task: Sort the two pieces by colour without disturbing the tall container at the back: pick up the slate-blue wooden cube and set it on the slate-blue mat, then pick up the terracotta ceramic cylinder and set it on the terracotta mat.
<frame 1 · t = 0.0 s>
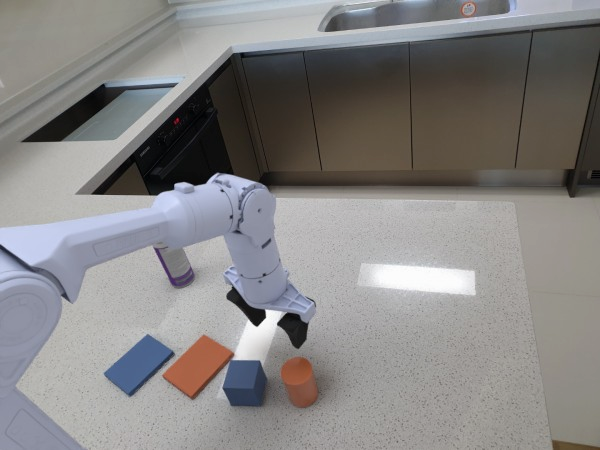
hand: (279, 332, 65), 7 cm above the table, tool pointing down, fingers open, 7 cm apart
terracotta cylinder: (303, 393, 65), on the table
terracotta mat: (199, 366, 72), on the table
container: (183, 280, 89), on the table
blue mat: (140, 364, 74), on the table
blue cube: (249, 391, 67), on the table
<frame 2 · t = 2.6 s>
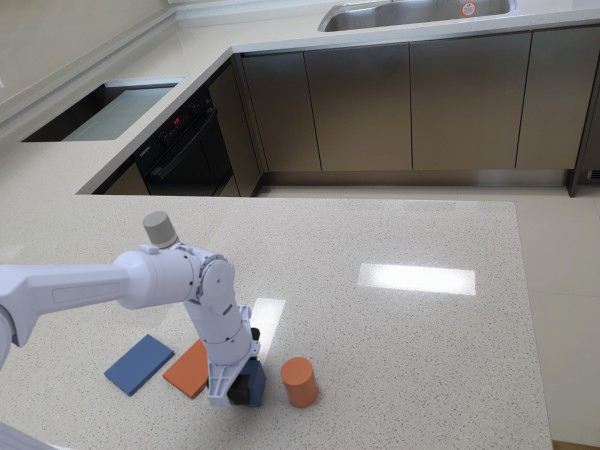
hand: (246, 386, 66), 1 cm above the table, tool pointing down, fingers closed on blue cube, 4 cm apart
blue cube: (249, 391, 67), on the table, touching gripper
everything else where it was.
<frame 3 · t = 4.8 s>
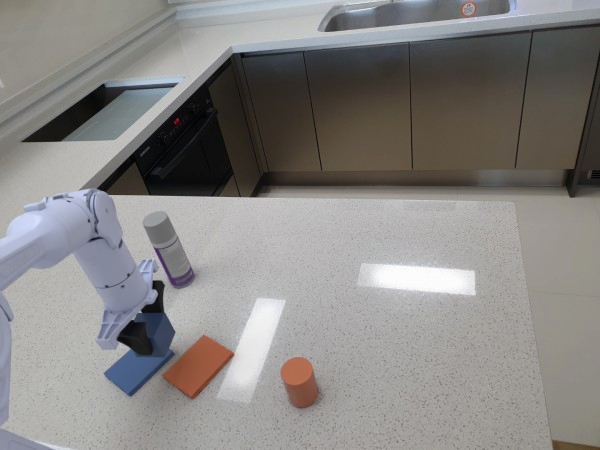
hand: (152, 338, 67), 8 cm above the table, tool pointing down, fingers closed on blue cube, 4 cm apart
blue cube: (156, 344, 68), point 7 cm above the table, touching gripper
everything else where it was.
when the fingers open (2 cm above the table, at t = 7.3 s): blue cube stays where it is, resting on blue mat.
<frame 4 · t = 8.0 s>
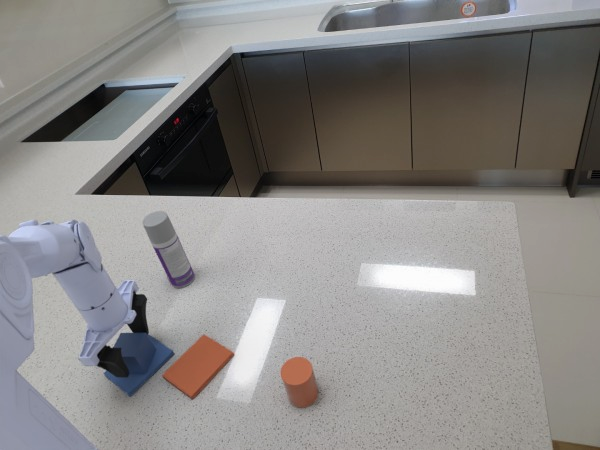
hand: (133, 354, 73), 3 cm above the table, tool pointing down, fingers open, 7 cm apart
blue cube: (138, 361, 74), point 1 cm above the table, touching blue mat
everything else where it was.
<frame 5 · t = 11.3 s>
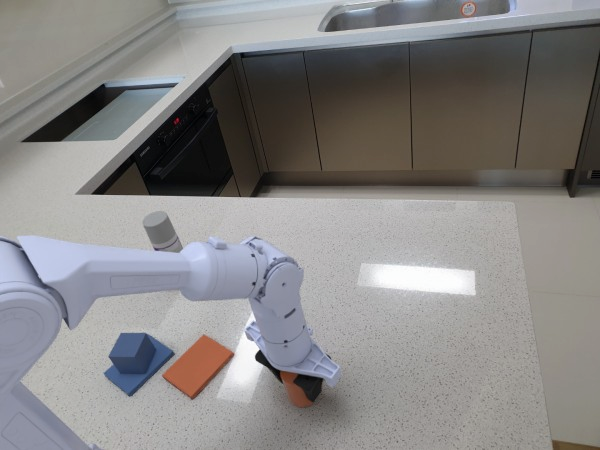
hand: (301, 387, 64), 1 cm above the table, tool pointing down, fingers closed on terracotta cylinder, 4 cm apart
terracotta cylinder: (303, 393, 65), on the table, touching gripper
everything else where it was.
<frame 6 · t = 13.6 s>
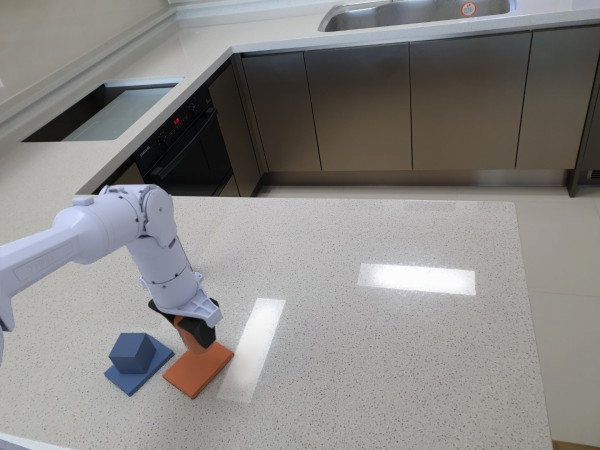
hand: (198, 336, 66), 8 cm above the table, tool pointing down, fingers closed on terracotta cylinder, 4 cm apart
terracotta cylinder: (201, 341, 67), point 7 cm above the table, touching gripper
everything else where it was.
when the fingers open (2 cm above the table, at t = 15.8 s): terracotta cylinder stays where it is, resting on terracotta mat.
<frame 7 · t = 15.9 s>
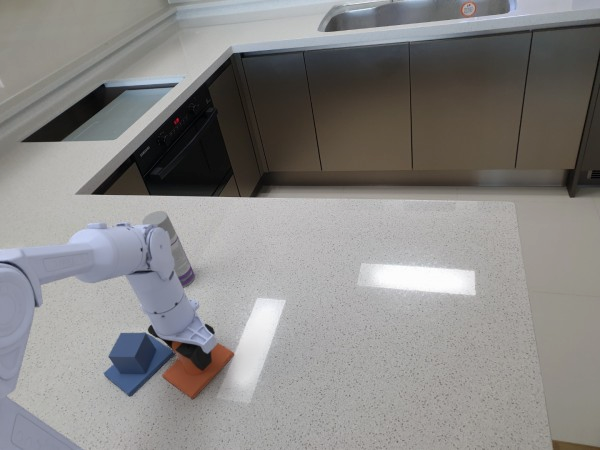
hand: (194, 358, 71), 2 cm above the table, tool pointing down, fingers open, 4 cm apart
terracotta cylinder: (197, 363, 72), point 1 cm above the table, touching terracotta mat
everything else where it was.
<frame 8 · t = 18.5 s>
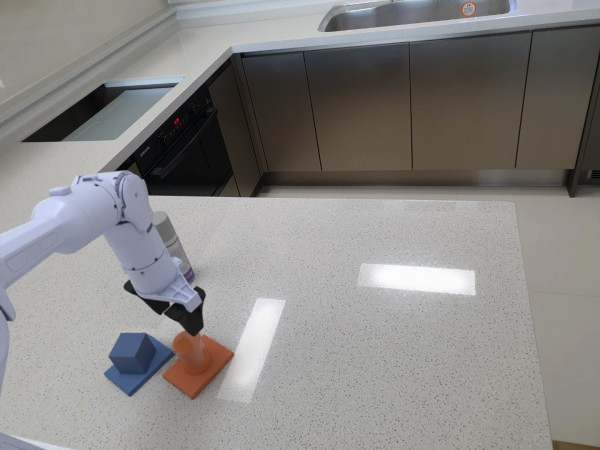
hand: (180, 320, 67), 10 cm above the table, tool pointing down, fingers open, 7 cm apart
nothing on the table moved.
at the end: blue cube inside the target area on the blue mat (0.1 cm from its centre), point 0.8 cm above the blue mat's base; terracotta cylinder inside the target area on the terracotta mat (0.1 cm from its centre), point 0.8 cm above the terracotta mat's base; container moved 0.2 cm from its start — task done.
